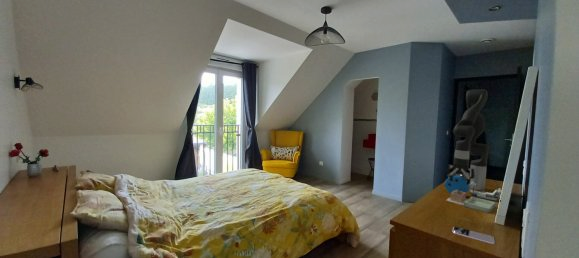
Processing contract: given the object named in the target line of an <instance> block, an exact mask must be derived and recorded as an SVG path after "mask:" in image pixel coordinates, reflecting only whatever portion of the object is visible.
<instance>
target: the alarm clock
mask: <svg viewBox="0 0 579 258" xmlns="http://www.w3.org/2000/svg"><path fill="white" fill-rule="evenodd" d="M451 172H452V171H450V173H451ZM467 179H468V178H467V177H466V176H465V175H464V174H460V173H459V174H457V173H456V172H455V173H454V174H453V181H450V175H449V174H447V179H445V182H444V187H445V189H446V191H447V192H448V193H449V194H451V192H453V191H455V190H460V191H461V192H465V193H466V194H467V193H468V191H470V189H471V188H470V184H469V185H467Z"/></svg>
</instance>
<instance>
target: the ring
mask: <svg viewBox="0 0 579 258" xmlns="http://www.w3.org/2000/svg"><path fill="white" fill-rule="evenodd" d="M449 194H450V196H449V198H450V200H452V201H456V202H460V203H462V202H463V201H464V200H466V199H467V193H465V192H461V191H460V195H459V194H456V190H455V191H453V192H451V193H449Z"/></svg>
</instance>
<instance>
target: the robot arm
mask: <svg viewBox="0 0 579 258" xmlns="http://www.w3.org/2000/svg"><path fill="white" fill-rule="evenodd" d="M465 93H466V94H465V100H466V101H465V102H466V108H467V110H465V111H464V113H463V115H462V117H461V119H460V120H459V122H458V123H457V124H456V125H455V126H454V128H453V129H452V130H453V131H452V132H453V135H454V136H456V137H461V138H464V139H460V140H457V141H456V142H455V150H454V157H453V165H451V164H448V165H446V166H447V167H446V175H448V174H449V175H450V176H449V177H450V181H453V174H454V173H456V174H459V175H460V174H464V175H465V176H466V177H467V178H468V179H467V185H469V184H470V183H471V182H474V183H475V184H476V185H475V186H474V190H477V191H483V190H485V188H486V178H487V169H488V168H487V167H488V157H489V152H490V146H489V144H486V143H479V142H478V143H477V142H476V141H477V139H478V138H479V136H480V135H482V134H483V133H484V132H485V130H486V119H485V117H484V116H483V115H482V114H481V111H482V108H483V107H484V106H485V104H486V102H487V100H488V98H489V93H488V91H487V90H486V89H484V88H483V89H469V90H467V91H466V92H465ZM470 155H471V156H476V157H480V158H479V159H473V160H471V161H470ZM469 162H470V167H469ZM451 169H453V171H451ZM468 171H469V172H468ZM450 172H451V173H450ZM469 189H471V190H473V187H470V188H469ZM485 191H486V190H485Z"/></svg>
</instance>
